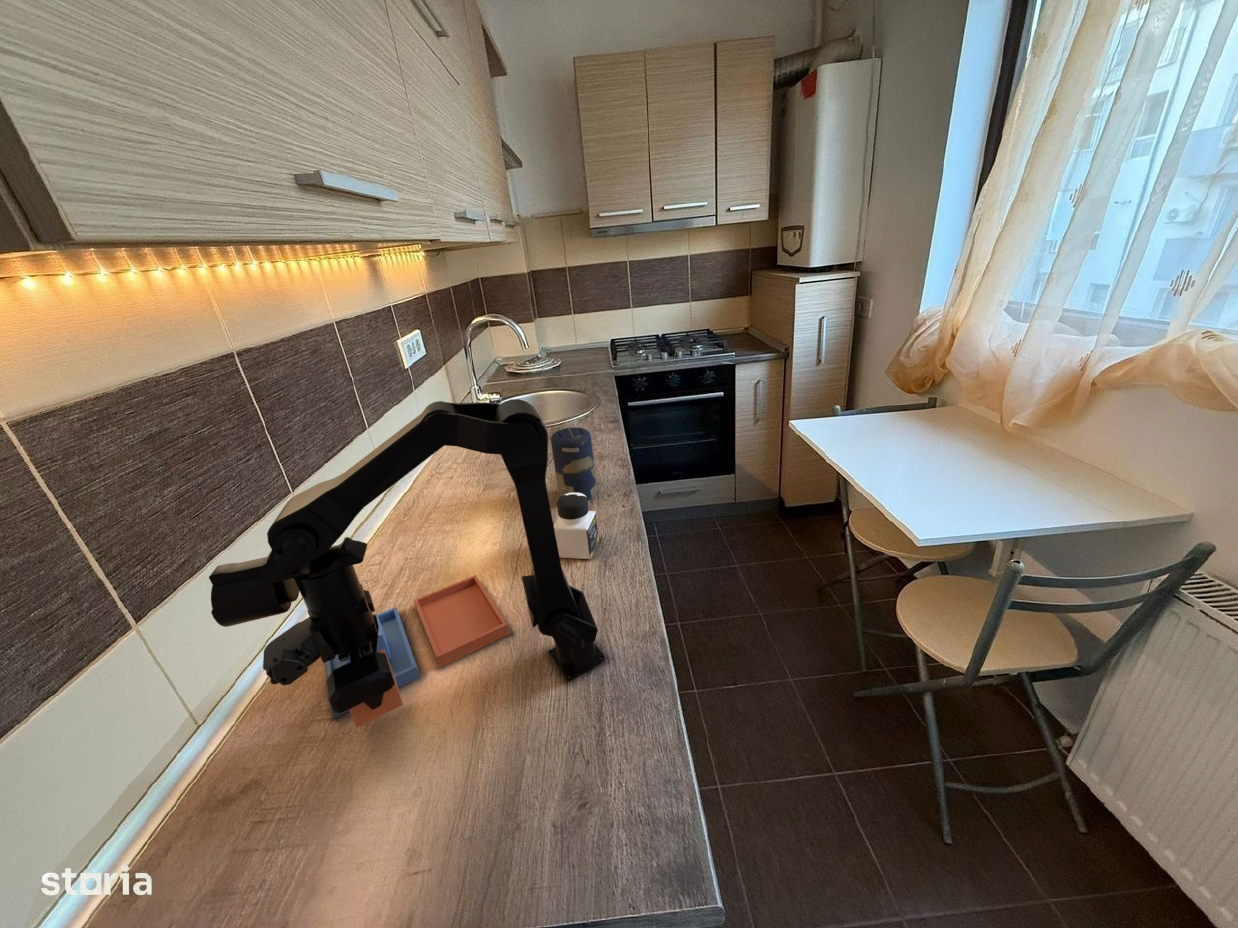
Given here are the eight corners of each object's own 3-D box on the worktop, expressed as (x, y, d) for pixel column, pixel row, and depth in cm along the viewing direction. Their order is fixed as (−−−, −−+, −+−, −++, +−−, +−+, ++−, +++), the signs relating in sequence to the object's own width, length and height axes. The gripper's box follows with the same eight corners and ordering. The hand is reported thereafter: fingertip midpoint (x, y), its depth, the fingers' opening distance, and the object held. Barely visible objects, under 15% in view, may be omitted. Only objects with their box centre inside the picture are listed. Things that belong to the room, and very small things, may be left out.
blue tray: (420, 677, 70) (416, 666, 69) (335, 717, 65) (330, 707, 64) (399, 616, 83) (396, 606, 82) (327, 645, 77) (322, 636, 76)
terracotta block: (402, 704, 62) (390, 672, 60) (356, 728, 59) (342, 695, 57) (396, 679, 66) (384, 648, 65) (352, 699, 64) (339, 668, 62)
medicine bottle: (590, 560, 93) (584, 506, 88) (556, 558, 95) (548, 505, 90) (599, 539, 100) (593, 489, 95) (566, 538, 101) (559, 488, 96)
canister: (597, 486, 122) (590, 420, 115) (597, 504, 114) (590, 434, 106) (560, 489, 122) (551, 423, 115) (557, 507, 114) (547, 437, 106)
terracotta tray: (509, 634, 77) (507, 624, 76) (439, 667, 71) (436, 657, 70) (478, 583, 89) (475, 574, 88) (416, 609, 84) (413, 599, 83)
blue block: (392, 661, 72) (382, 634, 70) (352, 679, 70) (341, 651, 68) (386, 640, 77) (377, 613, 74) (349, 656, 74) (337, 629, 72)
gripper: (256, 584, 59) (300, 675, 66) (247, 684, 45) (305, 787, 51) (354, 551, 65) (386, 638, 71) (374, 630, 50) (412, 731, 57)
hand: (373, 690), depth 62 cm, fingers closed on terracotta block, 5 cm apart
